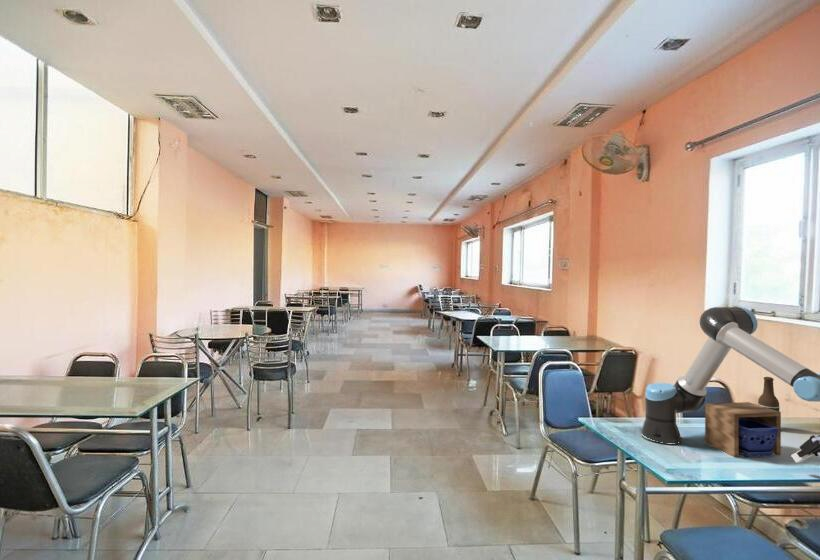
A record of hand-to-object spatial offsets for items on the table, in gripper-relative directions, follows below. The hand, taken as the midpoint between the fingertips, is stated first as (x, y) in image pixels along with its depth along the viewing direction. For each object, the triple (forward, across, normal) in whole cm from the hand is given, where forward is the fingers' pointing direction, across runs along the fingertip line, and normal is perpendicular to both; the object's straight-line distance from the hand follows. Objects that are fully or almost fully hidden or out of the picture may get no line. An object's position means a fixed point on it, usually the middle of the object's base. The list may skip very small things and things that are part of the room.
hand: (795, 458), depth 155 cm
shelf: (+19, 0, +12) cm, 22 cm away
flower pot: (+17, 0, +9) cm, 19 cm away
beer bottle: (+34, +35, +27) cm, 55 cm away
